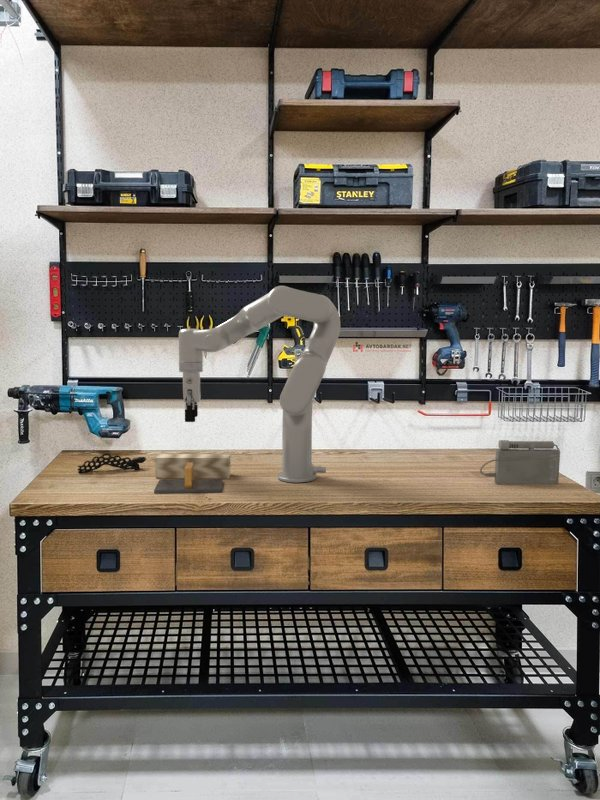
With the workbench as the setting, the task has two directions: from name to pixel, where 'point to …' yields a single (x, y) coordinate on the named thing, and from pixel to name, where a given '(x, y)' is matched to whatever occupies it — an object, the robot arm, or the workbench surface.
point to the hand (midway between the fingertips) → (191, 419)
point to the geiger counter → (526, 463)
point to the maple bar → (202, 465)
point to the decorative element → (112, 463)
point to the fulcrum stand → (189, 483)
